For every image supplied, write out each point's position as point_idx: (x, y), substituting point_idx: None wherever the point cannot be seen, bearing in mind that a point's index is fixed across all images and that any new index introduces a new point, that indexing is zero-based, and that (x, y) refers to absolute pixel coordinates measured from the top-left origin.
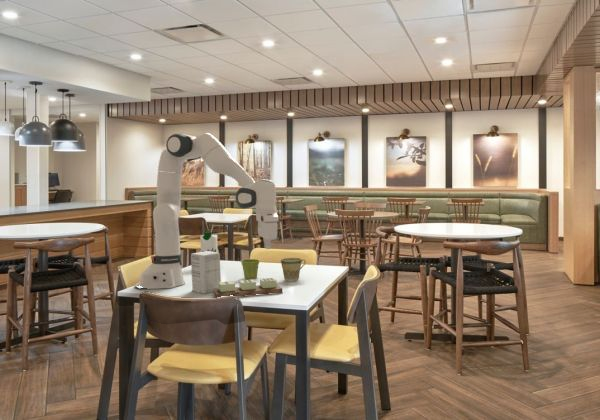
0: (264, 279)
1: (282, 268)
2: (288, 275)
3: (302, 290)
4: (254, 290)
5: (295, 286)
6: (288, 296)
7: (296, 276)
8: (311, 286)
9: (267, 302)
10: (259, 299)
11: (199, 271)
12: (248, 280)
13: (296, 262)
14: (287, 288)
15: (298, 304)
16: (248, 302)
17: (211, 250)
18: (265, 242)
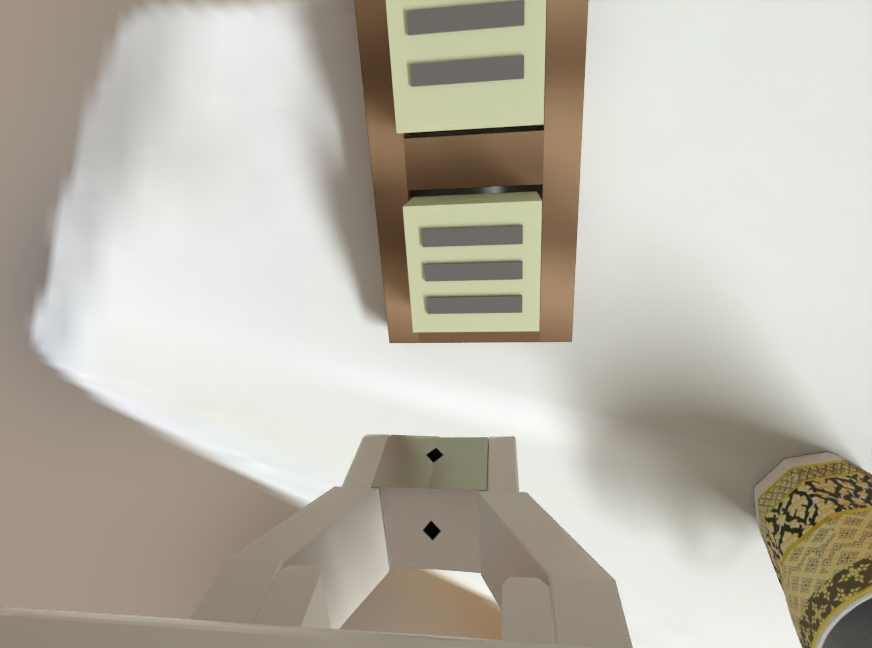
0: (475, 238)
1: None
2: (792, 495)
3: None
4: (372, 110)
5: (566, 455)
6: (285, 339)
7: (765, 537)
8: None
9: (141, 169)
10: (235, 126)
11: None
12: (484, 60)
13: (804, 645)
14: (526, 394)
15: (80, 340)
16: (153, 19)
17: None
18: (500, 542)
